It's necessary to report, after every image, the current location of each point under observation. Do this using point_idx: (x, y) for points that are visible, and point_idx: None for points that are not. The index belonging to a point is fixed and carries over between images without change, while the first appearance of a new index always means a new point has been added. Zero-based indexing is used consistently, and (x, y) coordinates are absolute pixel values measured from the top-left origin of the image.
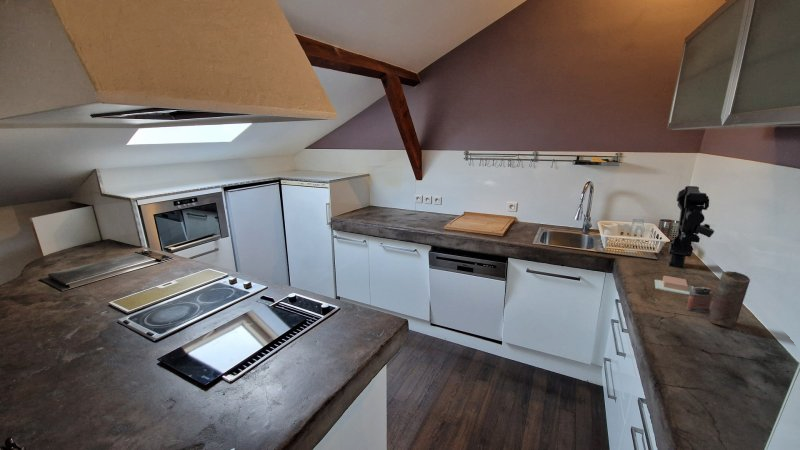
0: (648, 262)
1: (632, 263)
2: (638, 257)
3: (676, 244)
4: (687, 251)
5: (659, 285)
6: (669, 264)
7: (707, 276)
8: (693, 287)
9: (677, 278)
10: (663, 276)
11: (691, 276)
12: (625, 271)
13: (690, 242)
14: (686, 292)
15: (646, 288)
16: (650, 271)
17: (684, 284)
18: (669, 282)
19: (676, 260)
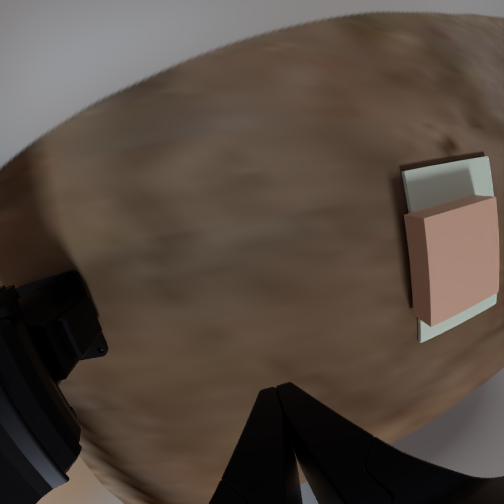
0: (150, 435)
1: None
2: (118, 468)
3: (55, 468)
4: (23, 333)
5: None
6: (99, 354)
7: (129, 126)
8: (418, 169)
9: (436, 258)
10: (430, 323)
11: (208, 203)
12: None
13: (452, 477)
14: (484, 193)
15: (500, 324)
16: None
17: (486, 212)
18: (495, 274)
19: (84, 344)
